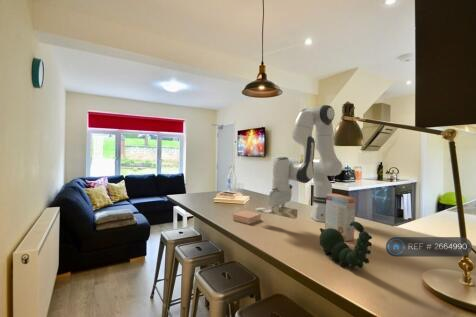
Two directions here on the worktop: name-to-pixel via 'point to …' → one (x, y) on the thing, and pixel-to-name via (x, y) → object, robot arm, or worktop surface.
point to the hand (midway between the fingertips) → (279, 211)
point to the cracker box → (340, 214)
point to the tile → (246, 217)
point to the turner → (283, 211)
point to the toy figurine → (346, 246)
